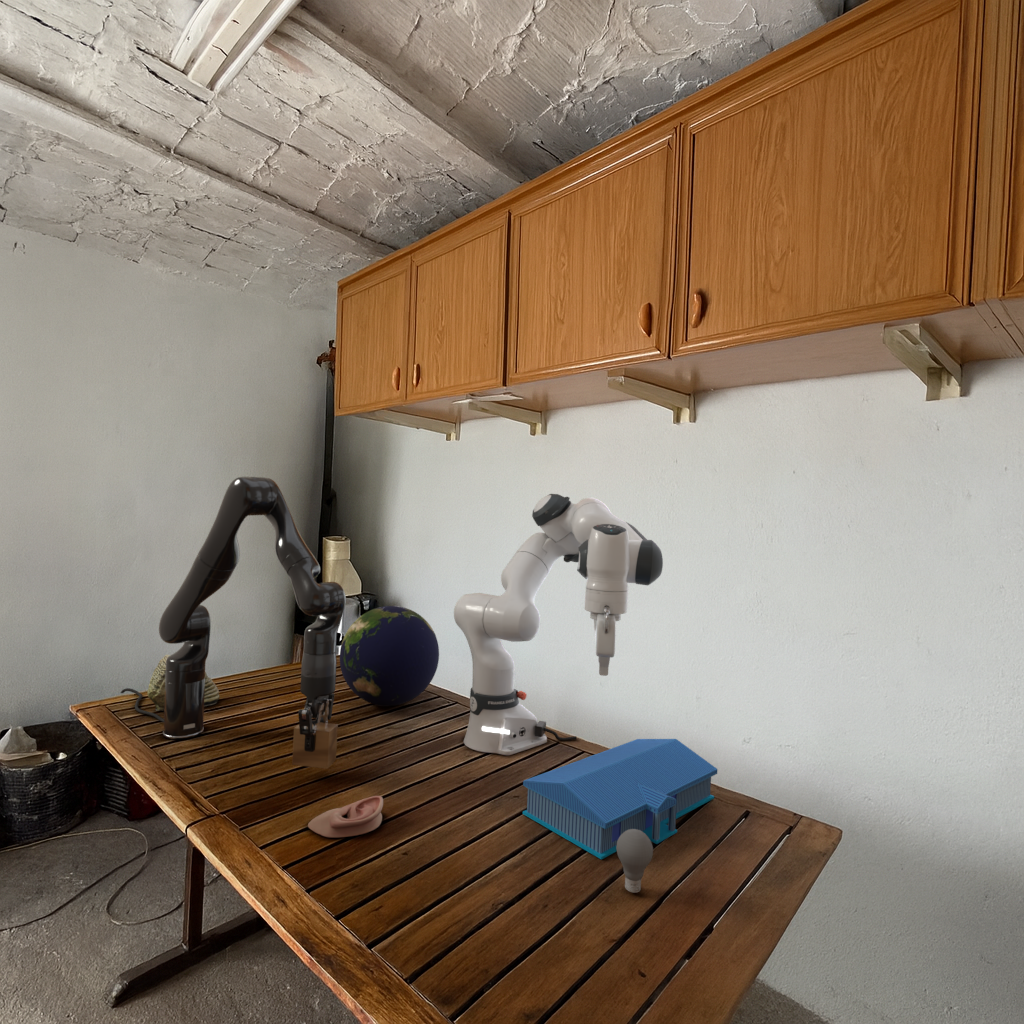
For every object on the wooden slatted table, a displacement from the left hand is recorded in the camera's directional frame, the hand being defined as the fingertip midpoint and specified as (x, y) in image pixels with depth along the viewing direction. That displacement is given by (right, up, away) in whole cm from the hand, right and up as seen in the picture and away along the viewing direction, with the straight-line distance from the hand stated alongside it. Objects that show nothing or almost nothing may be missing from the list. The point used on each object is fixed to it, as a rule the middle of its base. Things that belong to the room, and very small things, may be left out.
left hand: (315, 745), depth 143 cm
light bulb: (+65, -11, -37) cm, 75 cm away
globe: (+6, -6, +52) cm, 53 cm away
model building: (+69, -10, -8) cm, 70 cm away
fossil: (-52, -4, +42) cm, 67 cm away
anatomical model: (+12, -8, -20) cm, 24 cm away
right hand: (+63, +20, -11) cm, 67 cm away
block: (0, -4, 0) cm, 4 cm away
